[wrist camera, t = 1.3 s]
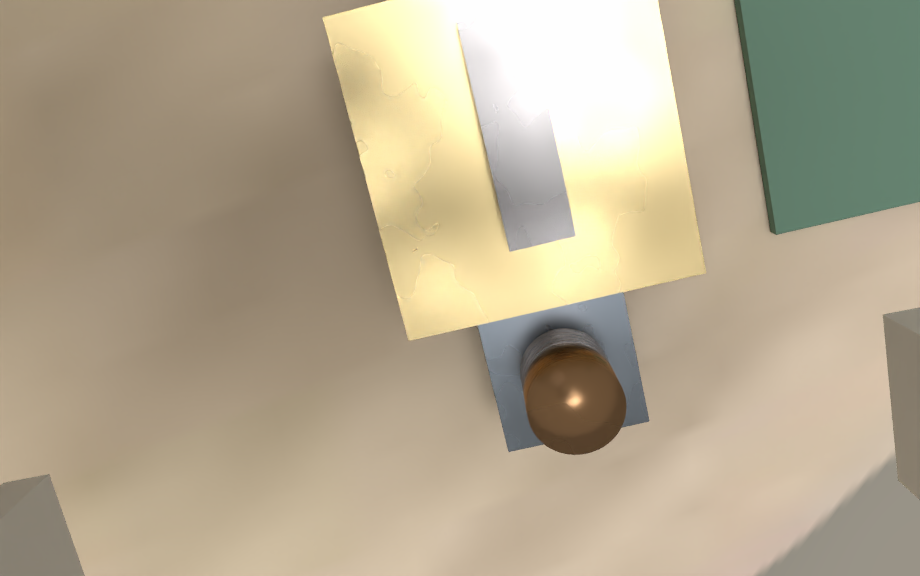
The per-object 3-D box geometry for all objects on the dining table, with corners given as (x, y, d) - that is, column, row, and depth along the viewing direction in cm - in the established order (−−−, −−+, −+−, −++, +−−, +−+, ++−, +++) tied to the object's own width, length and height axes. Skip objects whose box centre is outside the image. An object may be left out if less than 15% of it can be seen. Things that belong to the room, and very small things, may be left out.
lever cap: (347, 29, 26) (316, 14, 21) (615, -39, 25) (652, -72, 20) (418, 301, 28) (406, 349, 23) (668, 243, 27) (714, 279, 22)
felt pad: (709, -159, 29) (714, -164, 28) (1003, -236, 28) (1015, -243, 27) (770, 232, 32) (776, 234, 31) (1037, 170, 31) (1047, 172, 30)
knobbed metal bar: (369, -149, 29) (317, -271, 19) (509, -187, 28) (529, -331, 19) (503, 404, 33) (517, 533, 24) (625, 377, 33) (690, 496, 23)
